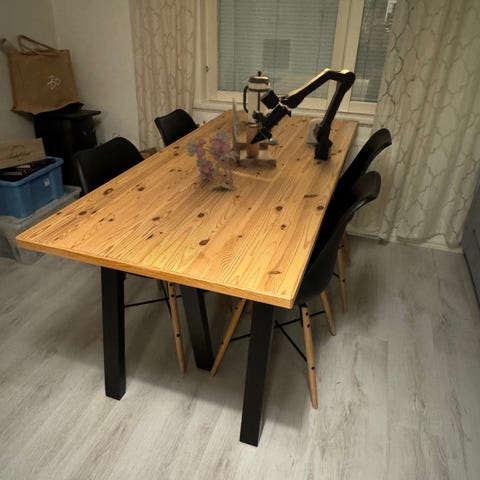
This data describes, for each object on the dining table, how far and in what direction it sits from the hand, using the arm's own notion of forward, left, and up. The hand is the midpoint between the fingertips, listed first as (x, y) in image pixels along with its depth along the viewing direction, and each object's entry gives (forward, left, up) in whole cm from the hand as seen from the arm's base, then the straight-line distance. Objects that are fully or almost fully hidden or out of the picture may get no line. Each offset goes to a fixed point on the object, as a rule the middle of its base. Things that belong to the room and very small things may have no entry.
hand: (250, 141), depth 183 cm
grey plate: (+6, -27, -8) cm, 29 cm away
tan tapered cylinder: (-1, -1, -6) cm, 6 cm away
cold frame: (-1, -1, -8) cm, 8 cm away
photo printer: (-16, -42, -8) cm, 46 cm away
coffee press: (+30, -58, -8) cm, 66 cm away
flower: (-3, +35, -8) cm, 36 cm away
